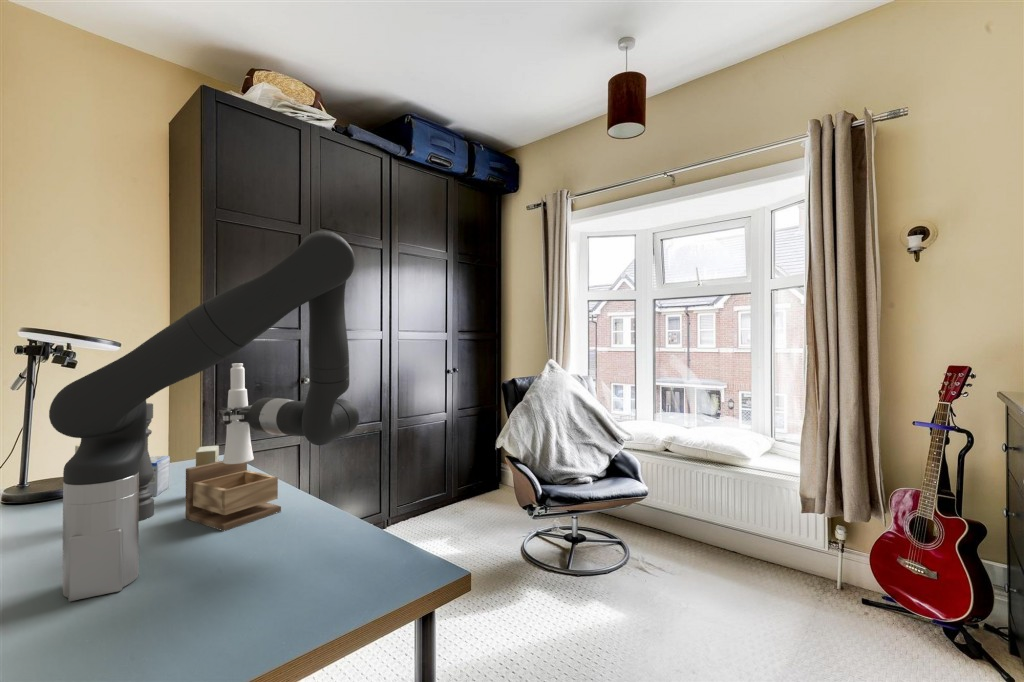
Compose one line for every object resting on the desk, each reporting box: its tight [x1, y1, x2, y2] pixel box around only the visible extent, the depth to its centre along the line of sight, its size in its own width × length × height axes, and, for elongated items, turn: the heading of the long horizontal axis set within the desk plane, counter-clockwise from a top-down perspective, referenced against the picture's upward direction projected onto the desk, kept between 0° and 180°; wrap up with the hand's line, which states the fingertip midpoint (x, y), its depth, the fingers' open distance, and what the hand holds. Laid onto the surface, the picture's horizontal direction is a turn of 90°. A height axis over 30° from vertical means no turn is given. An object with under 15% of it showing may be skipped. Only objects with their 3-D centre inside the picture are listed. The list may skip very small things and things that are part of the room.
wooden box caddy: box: [185, 460, 282, 532], centre depth 107 cm, size 14×13×11 cm
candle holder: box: [139, 402, 155, 522], centre depth 105 cm, size 6×6×25 cm
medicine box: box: [148, 455, 171, 497], centre depth 123 cm, size 8×4×9 cm, turn 17°
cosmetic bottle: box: [222, 362, 255, 464], centre depth 107 cm, size 6×6×22 cm
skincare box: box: [195, 445, 220, 467], centre depth 120 cm, size 6×4×12 cm
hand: (229, 411), depth 108 cm, fingers closed on cosmetic bottle, 3 cm apart
